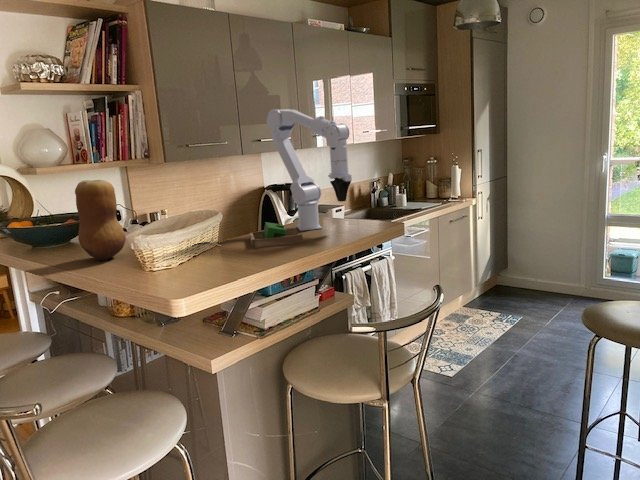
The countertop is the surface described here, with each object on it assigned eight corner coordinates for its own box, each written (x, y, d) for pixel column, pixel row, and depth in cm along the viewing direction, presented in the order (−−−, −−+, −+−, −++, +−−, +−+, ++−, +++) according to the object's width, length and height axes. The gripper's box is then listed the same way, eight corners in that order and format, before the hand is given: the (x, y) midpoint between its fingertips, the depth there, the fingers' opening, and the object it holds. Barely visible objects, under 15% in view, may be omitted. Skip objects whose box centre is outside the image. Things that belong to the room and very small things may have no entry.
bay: (250, 239, 176) (249, 232, 175) (296, 234, 179) (296, 227, 178) (252, 248, 162) (251, 240, 162) (302, 242, 165) (302, 234, 165)
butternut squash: (137, 254, 166) (125, 176, 160) (101, 265, 154) (87, 182, 149) (107, 252, 172) (95, 177, 167) (72, 263, 161) (57, 182, 156)
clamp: (281, 256, 168) (287, 233, 163) (263, 254, 166) (268, 230, 162) (280, 235, 178) (285, 213, 173) (262, 233, 176) (267, 211, 171)
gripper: (320, 161, 179) (323, 200, 181) (336, 162, 165) (339, 204, 168) (339, 159, 181) (341, 197, 184) (356, 160, 168) (358, 202, 170)
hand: (341, 201), depth 176 cm, fingers closed
